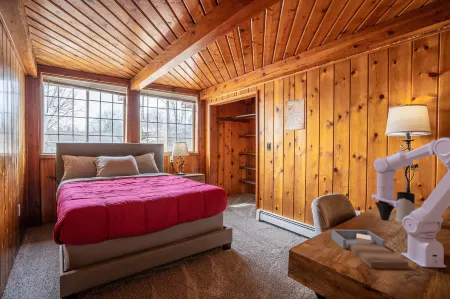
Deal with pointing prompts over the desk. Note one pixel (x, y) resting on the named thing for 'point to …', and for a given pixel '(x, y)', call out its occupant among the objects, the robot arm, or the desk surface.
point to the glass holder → (405, 205)
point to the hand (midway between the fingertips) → (384, 220)
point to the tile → (363, 239)
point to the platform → (377, 256)
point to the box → (353, 237)
